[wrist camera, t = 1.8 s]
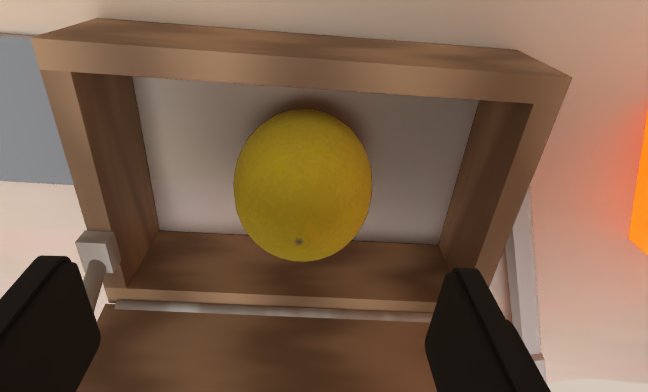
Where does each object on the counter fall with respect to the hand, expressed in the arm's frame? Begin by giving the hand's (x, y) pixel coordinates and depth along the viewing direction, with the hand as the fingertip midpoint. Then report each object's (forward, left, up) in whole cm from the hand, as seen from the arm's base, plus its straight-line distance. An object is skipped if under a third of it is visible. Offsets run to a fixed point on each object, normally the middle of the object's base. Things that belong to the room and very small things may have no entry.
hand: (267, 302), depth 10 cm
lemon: (-1, 0, -11) cm, 11 cm away
